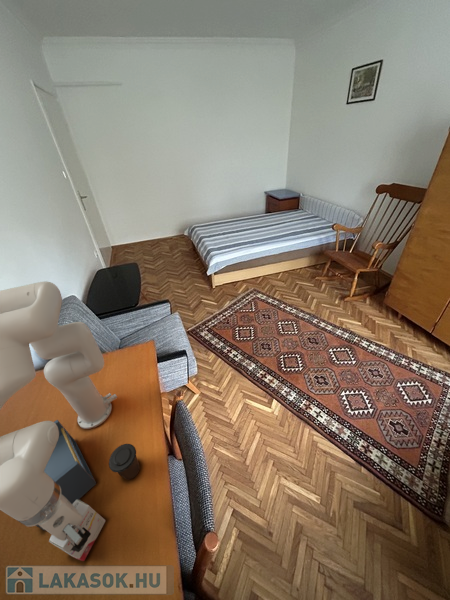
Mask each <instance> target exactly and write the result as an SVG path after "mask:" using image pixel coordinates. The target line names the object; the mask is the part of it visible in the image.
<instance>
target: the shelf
mask: <svg viewBox="0 0 450 600" xmlns="http://www.w3.org/2000/svg"><path fill="white" fill-rule="evenodd" d="M53 422H54V423H55V424H56V425H57V427H58V430H59V438H58V441H57V444H56V446H55V449H54V451H53V453H52V455H51V457H50V459H49V461H48V463H47V465H46V467H45V470H44V472H45V473H46V474H47V475H48V476H50V477H51V478H52V479H53V480H54V481H55V482H56V483H57V484H58V485H59V486H60V488H61V494H62V495H63V496H65V497H66V498H67V499H68V501H69V502H70V503H71V504H73V503H74V502H75V501H76V500H77V499H78V500H81V499H82V498H83V496H85V495H86V494H87V493H88V492H89V491H90V490H91V489H92V488H93V487H95V486H96V485H97V482H96V480H95V478H94V475H93V473H92V471H91V469H90V467H89V465H88V463H87V461H86V459H85V457H84V455H83V453H82V451H81V449H80V447H79V445H78V443H77V441H76V439H75V438H74V437H73V436H72V435H71V433H69V431H68V430H67V429H66V427H65V426H64V425H63V424H62V423H61V422H60V420H59V419H56V420H54V421H53ZM34 527H37V528H38V529H40V530H42V531H46V530H45V529H43V528H42V527H41V526H39V525H35V526H34Z"/></svg>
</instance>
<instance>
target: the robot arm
mask: <svg viewBox="0 0 450 600" xmlns="http://www.w3.org/2000/svg"><path fill="white" fill-rule="evenodd" d="M62 303H63V296H62V293H61V291H60V289H59V287H58V286H57V285H56V284H55V283H53V282H51V281H47V280H46V281H45V280H44V281H38V282H33V283H29V284H25V285H21V286H16V287H10V288H6V289H1V290H0V411H1V410H2V408H3V407H4V405H6V403H7V402H8V401H9V400H10V399H11V398H12V397H13V396H14V395H15V394H17V393H18V392H19V391H20V390H22V389H24V387H26V386H27V385H29V384H31V382H32V381H34V380H35V378H36V375H37V373H36V368H35V364H34V360H33V355H32V351H31V347H32V349H33V350H34V352H35V353H36V355H37V356H38V357H39V358H40V359H43V360H49V361H48V362H47V363H46V364H45V365H44V368H43V376H44V378H45V380H46V381H47V382H48V383H49V384H50V385H52V386H53V387H54V388H55V389H57V390H58V391H59V392H60V393H61V394H62V396H63V397H64V398H65V400H66V401H67V402H68V404H69V405H70V406H71V408H72V409H73V410H74V411H75V413H76V414H77V424H78V426H79V427H80V428H81V429H84V430H90V429H94V428H96V427H98V426H100V425H101V424H103V423H104V422H105V421H106V420H107V419H108V418H109V416H110V414H111V412H112V409H113V406H112V402H114V401H115V400H116V399H118V396H117V394H116V393H114V394H112V393H111V392H109V393H108V394H106V395H104V396H103V395H102V394H101V392H100V391H99V389H98V388H97V387H96V385H95V383H94V381H93V380H92V378H91V377H90V376H92V375H94V374H97V373H99V372H101V371H102V370H103V369H104V368H105V359H104V355H103V353H102V351H101V348H100V347H99V345H98V343H97V340H96V338H95V336H94V335H93V332H92V330H91V329H90V328H89V326H88V325H87V324H86V323H84V322H82V321H73V322H70V323H67V324H62V325H61V324H59V320H60V314H61V310H62ZM30 346H31V347H30ZM58 438H59V430H58V427H57V425H56V424H55V423H54V421H52V420H43V421H40V422H36V423H34V424H31V425H28V426H26V427H23V428H20V429H17V430H14V431H11V432H9V433H6V434H4V435H1V436H0V511H1V512H3V513H4V514H6V515H7V516H9V517H10V518H12V519H14V520H16V521H17V522H19V523H20V524H21V525H23V526H25V527H31V528H32V527H36V526H35V525H39V526H41V527H42V528H43V529H45V530H44V531H46V532H47V533H49V534H50V535H53V536H55V537H56V538H58V539H59V540H61V541H65V540H66V538H67V539H68V540H69V541H70V542H71V544H72V545H73V546H74V547H76V548H77V549H80V548H81V547H82V546H83V545H84V544H85V543H86V542H87V540H88V537H89V536H90V535H91V533H90V532H89V531H88V530H87V529H85V528H84V527H83V528H82V527H80V526H79V524H80V522H81V521H82V515H81V514H80V513H79V512H78V510H77V509H76V508H75V507H74V506H73V505H72V504H71V503H70V502H69V501H68V499H67V498H66V497H65V496H63V495H62V494H61V488H60V486H59V485H58V484H57V483H56V482H55V481H54V480H53V479H52V478H51V477H50V476H48V475H47V474H46V473H45V472H44V470H45V467H46V465H47V463H48V461H49V459H50V457H51V455H52V453H53V451H54V449H55V446H56V444H57V441H58ZM70 524H71V525H72V526H71V525H70ZM75 528H77V529H78V530H79V531H78V533H77V532H76V531H75V530H74V529H75Z"/></svg>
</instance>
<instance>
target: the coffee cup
mask: <svg viewBox="0 0 450 600" xmlns="http://www.w3.org/2000/svg"><path fill="white" fill-rule="evenodd" d="M140 467H141V466H140V463H139V460H138V456H137V448H136V447H135V446H134V444H132V443H123V444H120V445H119V446H117V447H116V448H115V449H114V450H113V451H112V453H111V455H110V457H109V461H108V468H109V469H110V471H111V472H113V473H116V474H118V475H119V476H121V477H122V478H123V479H124V480H130V481H131V480H132V479H135V478H136V477H137V476H138V474H139V472H140Z"/></svg>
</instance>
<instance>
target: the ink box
mask: <svg viewBox="0 0 450 600" xmlns="http://www.w3.org/2000/svg"><path fill="white" fill-rule="evenodd" d="M72 505H73V506H74V507H75V508H76V509H77V510H78V512H79V513H80V514H81V515H82V521H81V522H80V524H79V526H80V527H82V528H83V527H84V528H85V529H87V530H88V531H89V532H90V533H91V535H90V536H89V537H88V540H87V542H86V543H85V544H84V545H83V546H82V547H81V548H80V549H77V548H76V547H74V546H73V545H72V544H71V542H70V541H69V540H68V539H67V538H66V540H65V541H61V540H59V539H58V538H56V537H55V536H53V535H52V534H50V537H49V540H48V543H50V544H52V545H53V546H54V547H56V548H58V549H60V550H61V551H62V552H65V553H66V554H67V555H68V556H70V557H72V558H74V559H76V560H78V561H81V562H85V560H86V558H87V556H88V555H89V554H90V551H91V549H92V548H93V545H94V544H95V541H96V540H97V538H98V536H99V534H100V532H101V530H102V528H103V527H104V525H105V524H106V519H105V518H104V517H102V516H101V514H99V513H98V512H97V511H96V510H95V509H93V508H92V507H91V506H90V505H89V504H88V503H86V502H84V501H82V500H81V499H79V500H78V499H77V500H76V501H75V502H74V503H73V504H72ZM70 525H71V524H70ZM71 526H72V525H71ZM74 530H75V531H76V532H77V533H78V531H79V530H78V529H77V528H75V529H74Z"/></svg>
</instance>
